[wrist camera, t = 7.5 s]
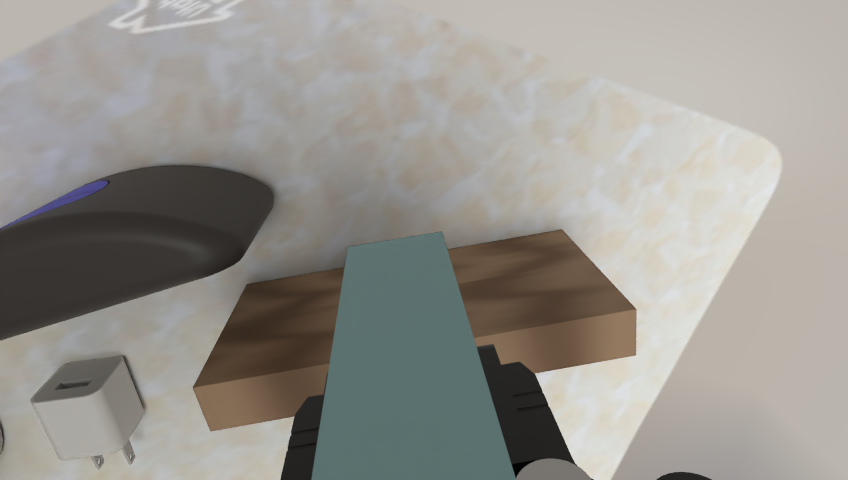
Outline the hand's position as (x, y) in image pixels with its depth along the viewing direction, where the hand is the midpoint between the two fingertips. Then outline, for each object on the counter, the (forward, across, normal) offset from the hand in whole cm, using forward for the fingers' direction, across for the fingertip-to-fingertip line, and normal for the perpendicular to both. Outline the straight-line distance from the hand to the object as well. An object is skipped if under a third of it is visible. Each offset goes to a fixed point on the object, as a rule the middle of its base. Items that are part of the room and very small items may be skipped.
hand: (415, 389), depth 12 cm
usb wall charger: (+19, +21, +12) cm, 31 cm away
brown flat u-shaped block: (+19, 0, +6) cm, 20 cm away
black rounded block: (+19, +15, +1) cm, 25 cm away
